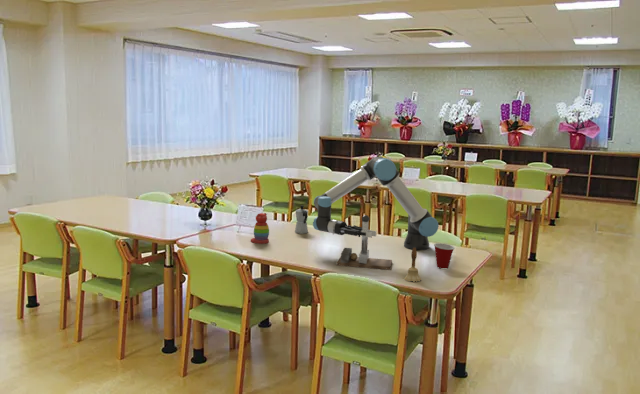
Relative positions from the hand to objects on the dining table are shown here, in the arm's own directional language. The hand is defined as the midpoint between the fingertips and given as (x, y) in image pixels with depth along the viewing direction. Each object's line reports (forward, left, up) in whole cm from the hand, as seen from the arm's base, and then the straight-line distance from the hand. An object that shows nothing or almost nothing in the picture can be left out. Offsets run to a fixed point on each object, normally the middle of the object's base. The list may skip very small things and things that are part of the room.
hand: (373, 234), depth 284 cm
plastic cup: (-37, -8, -17) cm, 41 cm away
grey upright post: (+5, -2, -15) cm, 16 cm away
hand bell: (-22, +18, -17) cm, 33 cm away
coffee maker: (+53, -63, -17) cm, 85 cm away
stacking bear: (+71, -31, -17) cm, 80 cm away
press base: (+4, -2, -17) cm, 18 cm away
